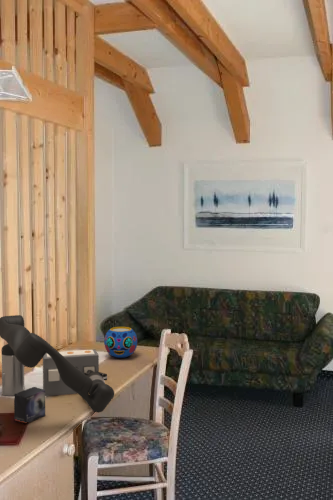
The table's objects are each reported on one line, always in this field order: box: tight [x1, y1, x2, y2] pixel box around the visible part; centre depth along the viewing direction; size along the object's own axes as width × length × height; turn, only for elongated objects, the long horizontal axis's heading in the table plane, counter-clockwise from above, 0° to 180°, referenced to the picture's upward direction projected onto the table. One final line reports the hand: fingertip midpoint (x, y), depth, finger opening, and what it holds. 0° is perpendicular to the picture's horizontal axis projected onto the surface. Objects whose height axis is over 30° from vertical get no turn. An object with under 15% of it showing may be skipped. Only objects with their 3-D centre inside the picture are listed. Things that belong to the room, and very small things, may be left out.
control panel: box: [42, 349, 100, 397], centre depth 246 cm, size 23×10×17 cm, turn 105°
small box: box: [13, 386, 46, 424], centre depth 214 cm, size 11×6×10 cm, turn 148°
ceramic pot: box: [103, 326, 138, 359], centre depth 300 cm, size 18×18×15 cm
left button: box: [48, 369, 59, 381], centre depth 239 cm, size 4×3×4 cm
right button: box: [84, 366, 95, 374], centre depth 244 cm, size 4×3×4 cm
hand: (89, 372), depth 243 cm, fingers closed
